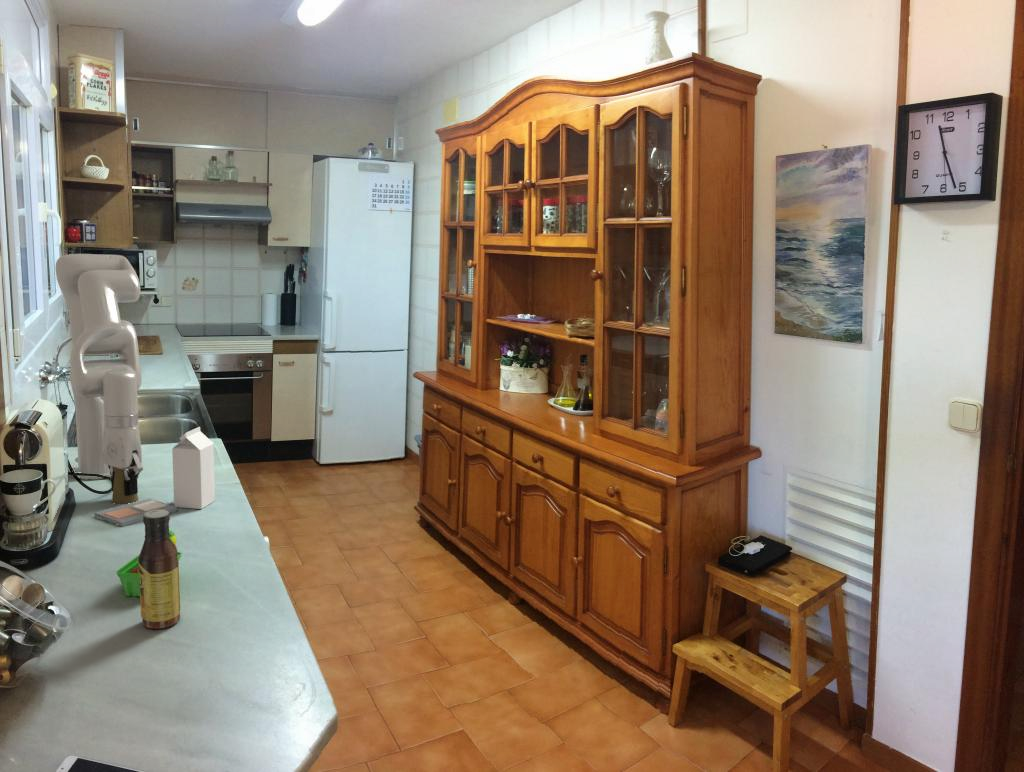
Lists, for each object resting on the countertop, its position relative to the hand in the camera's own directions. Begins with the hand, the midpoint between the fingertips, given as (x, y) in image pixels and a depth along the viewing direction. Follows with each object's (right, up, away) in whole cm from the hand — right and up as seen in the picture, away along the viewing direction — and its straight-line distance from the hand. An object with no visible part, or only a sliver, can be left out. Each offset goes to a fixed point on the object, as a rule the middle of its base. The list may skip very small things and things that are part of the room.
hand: (124, 491), depth 200 cm
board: (+7, -4, -9) cm, 12 cm away
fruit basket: (+29, -12, -48) cm, 57 cm away
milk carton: (+18, -3, 0) cm, 18 cm away
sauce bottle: (+36, -14, -62) cm, 73 cm away
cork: (0, -3, 0) cm, 3 cm away
